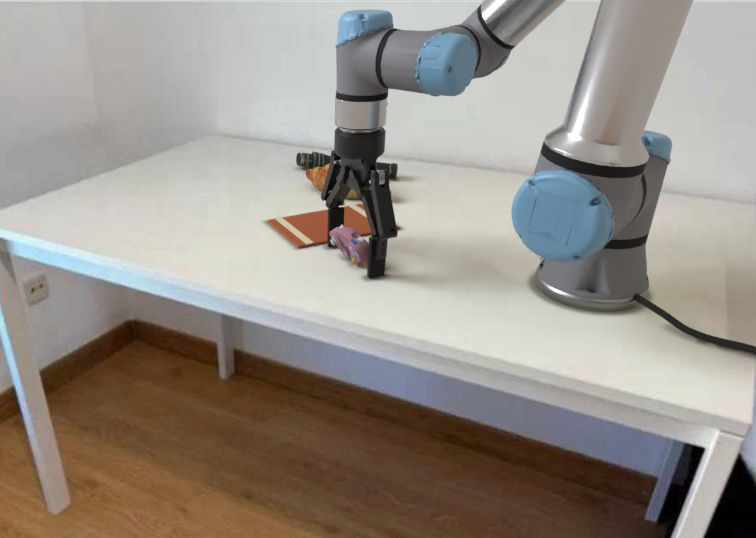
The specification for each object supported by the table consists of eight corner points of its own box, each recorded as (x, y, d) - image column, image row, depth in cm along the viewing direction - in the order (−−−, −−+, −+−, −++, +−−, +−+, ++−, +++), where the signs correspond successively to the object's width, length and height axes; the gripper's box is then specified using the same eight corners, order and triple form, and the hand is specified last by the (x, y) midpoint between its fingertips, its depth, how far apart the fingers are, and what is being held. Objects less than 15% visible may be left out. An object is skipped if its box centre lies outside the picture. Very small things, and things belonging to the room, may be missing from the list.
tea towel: (399, 228, 124) (399, 226, 123) (298, 248, 117) (298, 245, 117) (361, 205, 135) (361, 203, 134) (267, 222, 128) (267, 219, 128)
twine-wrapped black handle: (403, 161, 148) (300, 148, 158) (396, 162, 144) (290, 149, 154) (400, 181, 150) (298, 167, 160) (393, 183, 145) (288, 168, 155)
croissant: (396, 215, 139) (409, 176, 138) (374, 204, 131) (387, 163, 130) (313, 193, 151) (323, 157, 149) (287, 182, 142) (299, 144, 141)
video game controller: (336, 259, 116) (320, 228, 112) (357, 244, 117) (342, 211, 112) (366, 282, 109) (350, 249, 104) (389, 265, 109) (374, 231, 105)
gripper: (430, 143, 92) (416, 285, 103) (342, 108, 112) (339, 230, 123) (382, 150, 90) (373, 295, 101) (301, 113, 109) (301, 237, 121)
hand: (354, 260), depth 112 cm, fingers open, 13 cm apart
